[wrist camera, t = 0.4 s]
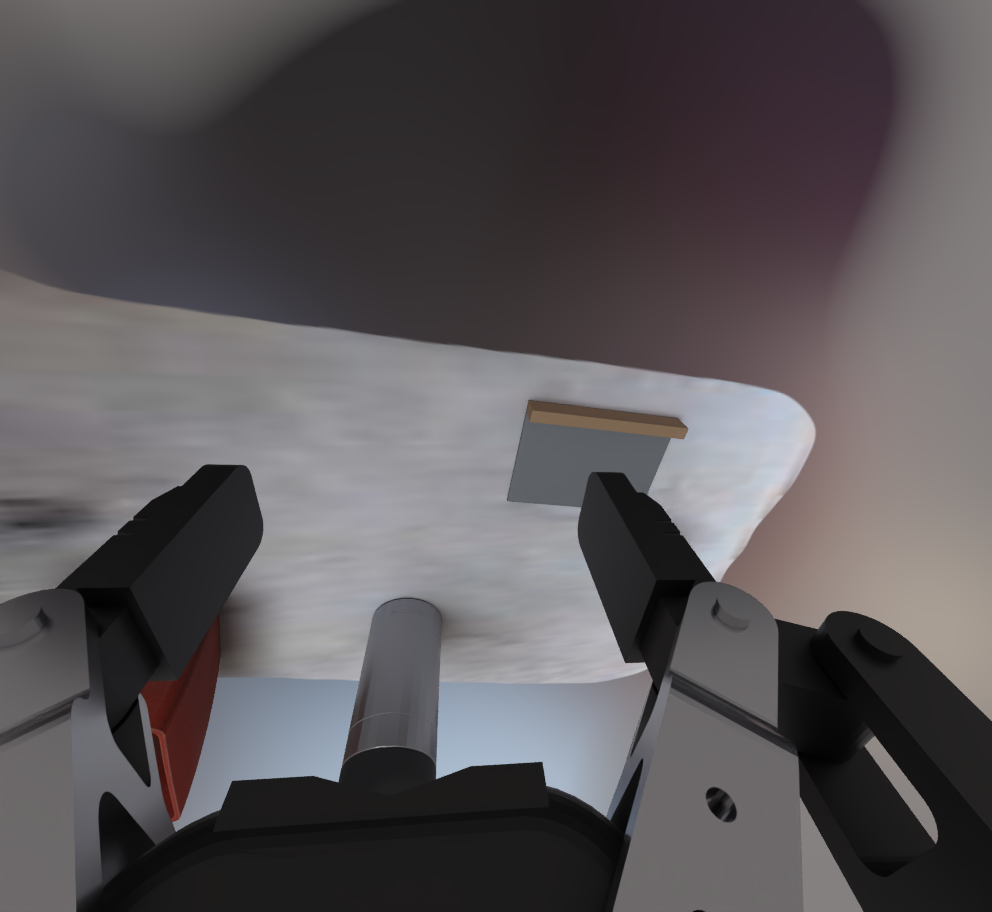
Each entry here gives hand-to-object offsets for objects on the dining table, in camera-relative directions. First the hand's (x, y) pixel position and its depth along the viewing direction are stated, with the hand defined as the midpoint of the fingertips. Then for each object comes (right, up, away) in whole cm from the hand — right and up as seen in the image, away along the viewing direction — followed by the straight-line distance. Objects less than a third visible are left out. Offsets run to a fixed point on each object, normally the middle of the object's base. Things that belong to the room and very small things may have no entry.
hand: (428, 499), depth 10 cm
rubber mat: (+12, 0, +35) cm, 37 cm away
